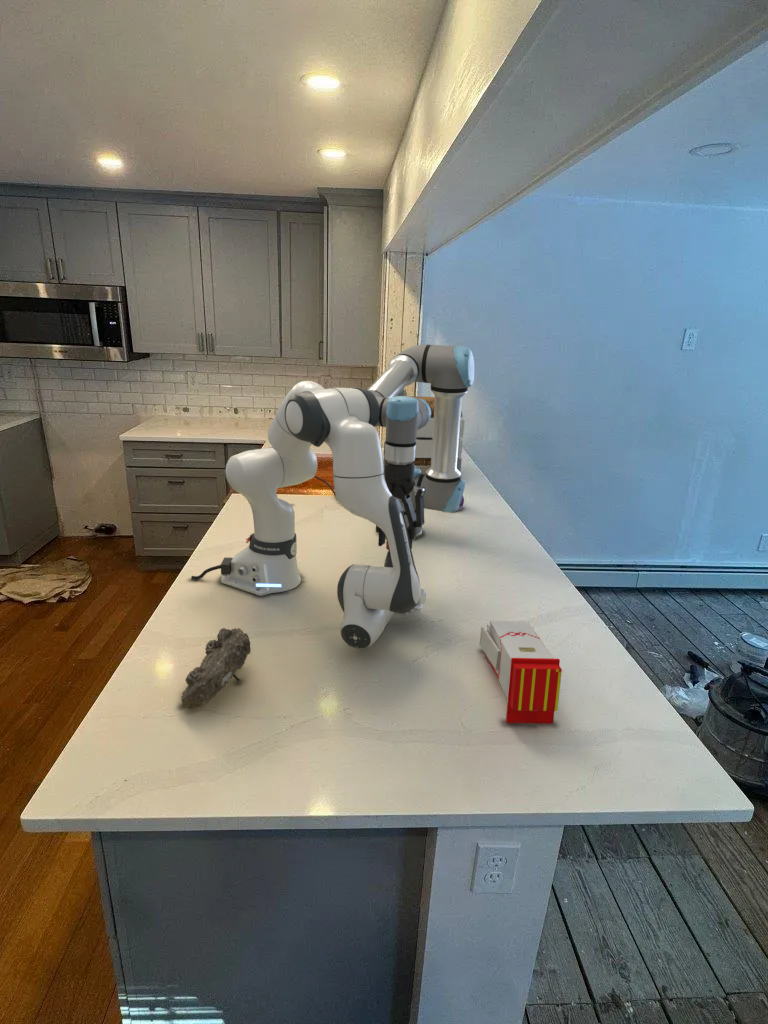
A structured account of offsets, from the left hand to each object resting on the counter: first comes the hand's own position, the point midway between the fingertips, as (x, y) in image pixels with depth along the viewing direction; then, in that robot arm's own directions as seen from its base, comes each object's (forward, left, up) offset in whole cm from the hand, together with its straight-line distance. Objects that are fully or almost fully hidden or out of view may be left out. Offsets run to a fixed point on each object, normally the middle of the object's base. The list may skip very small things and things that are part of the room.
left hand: (394, 580), depth 151 cm
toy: (+34, -23, -7) cm, 42 cm away
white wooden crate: (-25, +128, -7) cm, 130 cm away
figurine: (0, +83, -7) cm, 84 cm away
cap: (0, -1, +12) cm, 12 cm away
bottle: (0, -1, -7) cm, 7 cm away
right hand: (0, -1, +10) cm, 10 cm away
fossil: (-24, -45, -7) cm, 52 cm away
